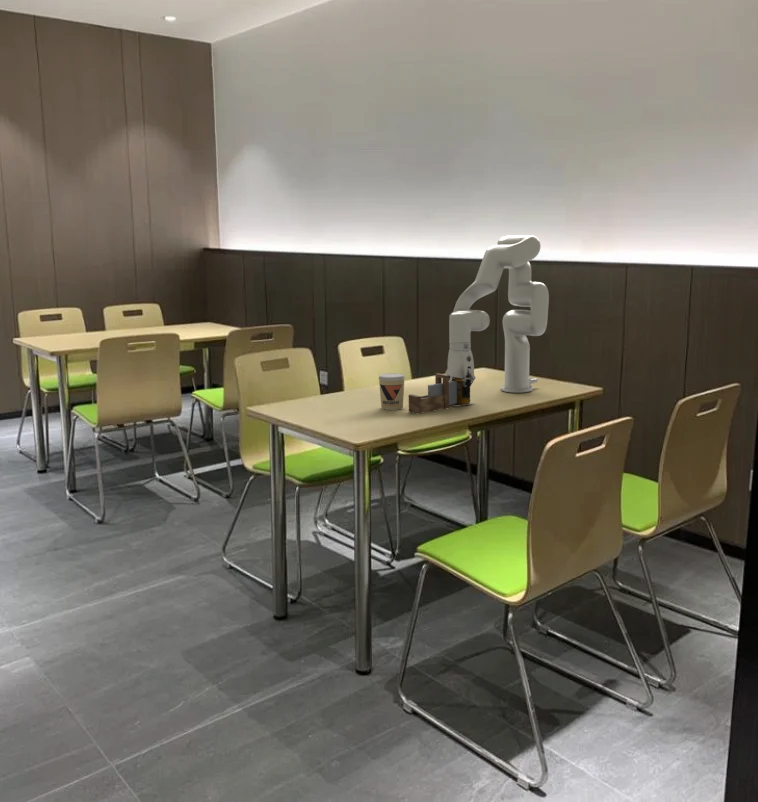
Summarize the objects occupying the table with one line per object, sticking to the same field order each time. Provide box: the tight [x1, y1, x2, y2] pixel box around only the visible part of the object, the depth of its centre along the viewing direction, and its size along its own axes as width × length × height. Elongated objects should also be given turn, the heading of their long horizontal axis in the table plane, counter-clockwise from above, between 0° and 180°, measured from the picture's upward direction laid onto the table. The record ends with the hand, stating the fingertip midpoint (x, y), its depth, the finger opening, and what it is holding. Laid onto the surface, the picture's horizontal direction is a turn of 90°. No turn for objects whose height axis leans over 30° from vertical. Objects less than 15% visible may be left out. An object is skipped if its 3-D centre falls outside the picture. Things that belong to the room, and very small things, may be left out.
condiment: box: [449, 376, 476, 407], centre depth 286 cm, size 7×8×12 cm
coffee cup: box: [378, 372, 406, 411], centre depth 283 cm, size 9×9×12 cm
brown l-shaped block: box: [408, 372, 450, 414], centre depth 278 cm, size 14×6×12 cm, turn 125°
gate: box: [427, 381, 457, 406], centre depth 282 cm, size 12×2×8 cm, turn 125°
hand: (460, 395), depth 287 cm, fingers closed on condiment, 6 cm apart
